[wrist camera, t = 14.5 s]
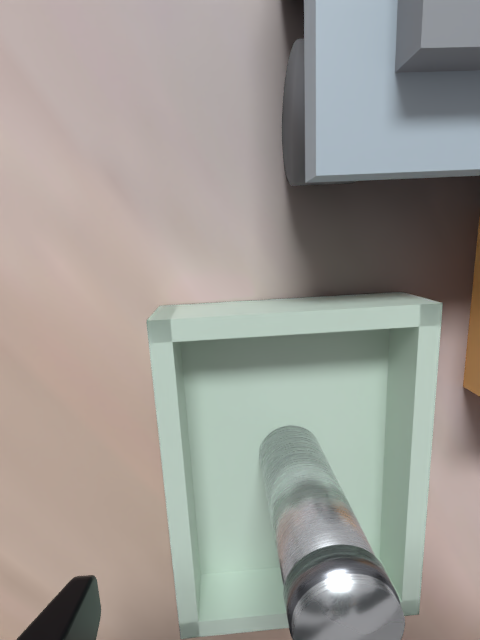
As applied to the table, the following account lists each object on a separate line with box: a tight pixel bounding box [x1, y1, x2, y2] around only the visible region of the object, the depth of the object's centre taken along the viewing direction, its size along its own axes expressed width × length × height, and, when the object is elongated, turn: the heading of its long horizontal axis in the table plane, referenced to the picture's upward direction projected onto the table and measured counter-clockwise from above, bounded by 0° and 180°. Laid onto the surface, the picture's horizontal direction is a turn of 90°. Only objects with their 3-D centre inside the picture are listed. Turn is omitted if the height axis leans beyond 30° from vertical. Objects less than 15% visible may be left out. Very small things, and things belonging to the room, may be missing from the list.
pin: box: [259, 425, 405, 640], centre depth 11 cm, size 2×2×6 cm
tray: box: [147, 292, 443, 639], centre depth 13 cm, size 12×9×2 cm
